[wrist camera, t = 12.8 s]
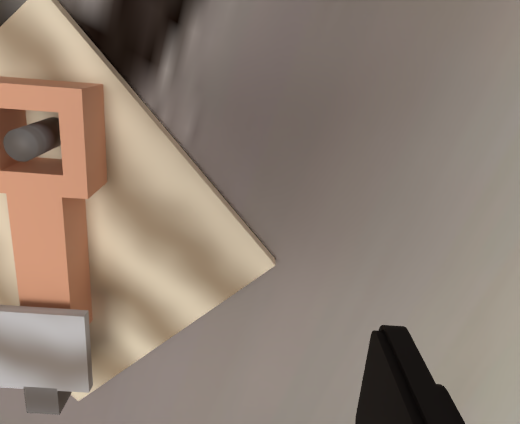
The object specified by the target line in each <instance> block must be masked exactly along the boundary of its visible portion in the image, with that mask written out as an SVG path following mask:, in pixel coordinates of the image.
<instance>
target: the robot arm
mask: <svg viewBox="0 0 520 424" xmlns="http://www.w3.org/2000/svg"><path fill="white" fill-rule="evenodd" d="M356 424H465V422H464V421H463V419H462V417H461V415H460V413H459V411H458V410H457V408H456V406H455V404H454V402H453V400H452V399H451V397H450V395H449V393H448V391H447V390H446V389H445V387H444V386H442V385H440V384H436V383H435V381H434V379H433V378H432V376H431V374H430V372H429V370H428V368H427V366H426V364H425V362H424V360H423V358H422V356H421V355H420V353H419V351H418V349H417V347H416V345H415V343H414V341H413V339H412V337H411V335H410V333H409V332H408V330H407V328H406V327H404V326H389V325H382V326H380V328H379V331H373V332H372V334H371V338H370V344H369V349H368V354H367V360H366V365H365V370H364V376H363V381H362V386H361V392H360V397H359V402H358V408H357V413H356Z"/></svg>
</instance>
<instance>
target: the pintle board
mask: <svg viewBox="0 0 520 424" xmlns="http://www.w3.org/2000/svg"><path fill="white" fill-rule="evenodd" d="M0 76H3V77H16V78H29V79H42V80H55V81H69V82H82V83H95V84H103V92H104V115H105V139H106V162H107V183H106V184H105V185H103V186H102V187H101V188H100V189H99V190H98V191H97V192H95V193H94V194H93V195H92V196H91V197H90V198H89V199H85V203H86V219H87V236H88V252H89V269H90V285H91V302H92V318H93V320H92V322H91V323H90V325H89V312H88V310H75V309H60V308H44V307H29V306H20V302H19V294H18V286H17V278H16V270H15V261H14V253H13V245H12V237H11V229H10V221H9V213H8V204H7V196H6V193H0V387H3V388H19V389H24V395H25V403H26V411H27V413H40V414H57V415H60V413H61V411H62V409H63V407H64V406H65V404H66V402H67V400H68V398H69V396H70V395H72V396H73V397H74V398H75V399H76V400H77V401H79V400H81V399H82V398H84V397H85V396H87V395H88V394H90V393H91V392H93V391H94V390H95V389H97V388H98V387H100V386H101V385H103V384H104V383H106V382H107V381H108V380H110V379H111V378H113V377H114V376H116V375H117V374H119V373H120V372H122V371H123V370H124V369H126V368H127V367H129V366H130V365H132V364H133V363H135V362H136V361H137V360H139V359H140V358H142V357H143V356H145V355H146V354H148V353H149V352H151V351H152V350H153V349H155V348H156V347H158V346H159V345H161V344H162V343H164V342H165V341H166V340H168V339H169V338H171V337H172V336H174V335H175V334H177V333H178V332H180V331H181V330H182V329H184V328H185V327H187V326H188V325H190V324H191V323H193V322H194V321H195V320H197V319H198V318H200V317H201V316H203V315H204V314H206V313H207V312H209V311H210V310H211V309H213V308H214V307H216V306H217V305H219V304H220V303H222V302H223V301H224V300H226V299H227V298H229V297H230V296H232V295H233V294H235V293H236V292H238V291H239V290H240V289H242V288H243V287H245V286H246V285H248V284H249V283H251V282H252V281H253V280H255V279H256V278H258V277H259V276H261V275H262V274H264V273H265V272H267V271H268V270H269V269H271V268H272V267H274V266H275V258H274V257H273V256H272V255H271V253H270V252H269V251H268V250H267V249H266V247H265V246H264V245H263V244H262V243H261V241H260V240H259V239H258V238H257V237H256V236H255V234H254V233H253V232H252V231H251V230H250V228H249V227H248V226H247V225H246V224H245V222H244V221H243V220H242V219H241V218H240V217H239V215H238V214H237V213H236V212H235V211H234V209H233V208H232V207H231V206H230V205H229V203H228V202H227V201H226V200H225V199H224V198H223V196H222V195H221V194H220V193H219V192H218V190H217V189H216V188H215V187H214V186H213V184H212V183H211V182H210V181H209V180H208V179H207V177H206V176H205V175H204V174H203V173H202V171H201V170H200V169H199V168H198V167H197V165H196V164H195V163H194V162H193V161H192V160H191V158H190V157H189V156H188V155H187V154H186V152H185V151H184V150H183V149H182V148H181V146H180V145H179V144H178V143H177V142H176V141H175V139H174V138H173V137H172V136H171V135H170V133H169V132H168V131H167V130H166V129H165V127H164V126H163V125H162V124H161V123H160V122H159V120H158V119H157V118H156V117H155V116H154V114H153V113H152V112H151V111H150V110H149V108H148V107H147V106H146V105H145V104H144V103H143V101H142V100H141V99H140V98H139V97H138V95H137V94H136V93H135V92H134V91H133V89H132V88H131V87H130V86H129V85H128V83H127V82H126V81H125V80H124V79H123V78H122V76H121V75H120V74H119V73H118V72H117V70H116V69H115V68H114V67H113V66H112V64H111V63H110V62H109V61H108V60H107V59H106V57H105V56H104V55H103V54H102V53H101V51H100V50H99V49H98V48H97V47H96V45H95V44H94V43H93V42H92V41H91V40H90V38H89V37H88V36H87V35H86V34H85V32H84V31H83V30H82V29H81V28H80V26H79V25H78V24H77V23H76V22H75V21H74V19H73V18H72V17H71V16H70V15H69V13H68V12H67V11H66V10H65V9H64V7H63V6H62V5H61V4H60V3H59V2H58V0H27V1H26V2H25V3H24V4H23V5H22V6H21V7H20V8H19V9H18V10H17V11H16V12H15V13H14V14H13V15H12V16H11V17H10V18H9V19H8V20H7V21H6V22H5V23H4V24H3V25H2V26H1V27H0ZM25 111H26V121H27V125H25V126H22V127H19V128H16V129H13V130H11V131H9V132H8V133H7V134H6V135H5V137H4V141H3V144H4V148H5V151H6V152H7V154H8V155H9V156H10V157H11V158H13V159H14V160H17V161H21V162H26V161H29V160H31V159H33V158H35V157H39V158H53V159H62V154H61V141H60V128H59V115H58V112H46V111H32V110H25Z"/></svg>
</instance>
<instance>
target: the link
mask: <svg viewBox="0 0 520 424" xmlns="http://www.w3.org/2000/svg"><path fill="white" fill-rule="evenodd" d="M25 110H32V111H46V112H58V115H59V128H60V141H61V154H62V159H53V158H39V157H35V158H33V159H31V160H29V161H26V162H21V161H17V160H14V159H13V158H11V157H10V156H9V155H8V154H7V152H6V151H5V148H4V144H3V141H4V137H5V135H6V134H7V133H8V132H9V131H11V130H13V129H16V128H19V127H22V126H25V125H27V121H26V111H25ZM106 183H107V162H106V139H105V115H104V92H103V84H95V83H82V82H69V81H55V80H42V79H29V78H16V77H3V76H0V193H6V196H7V204H8V213H9V221H10V229H11V237H12V245H13V253H14V261H15V270H16V278H17V286H18V294H19V302H20V306H29V307H44V308H60V309H75V310H88V312H89V325H90V323H91V322H92V320H93V318H92V302H91V285H90V269H89V252H88V236H87V219H86V203H85V199H89V198H90V197H91V196H92V195H93V194H94V193H95V192H97V191H98V190H99V189H100V188H101V187H102V186H103V185H105V184H106Z"/></svg>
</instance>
